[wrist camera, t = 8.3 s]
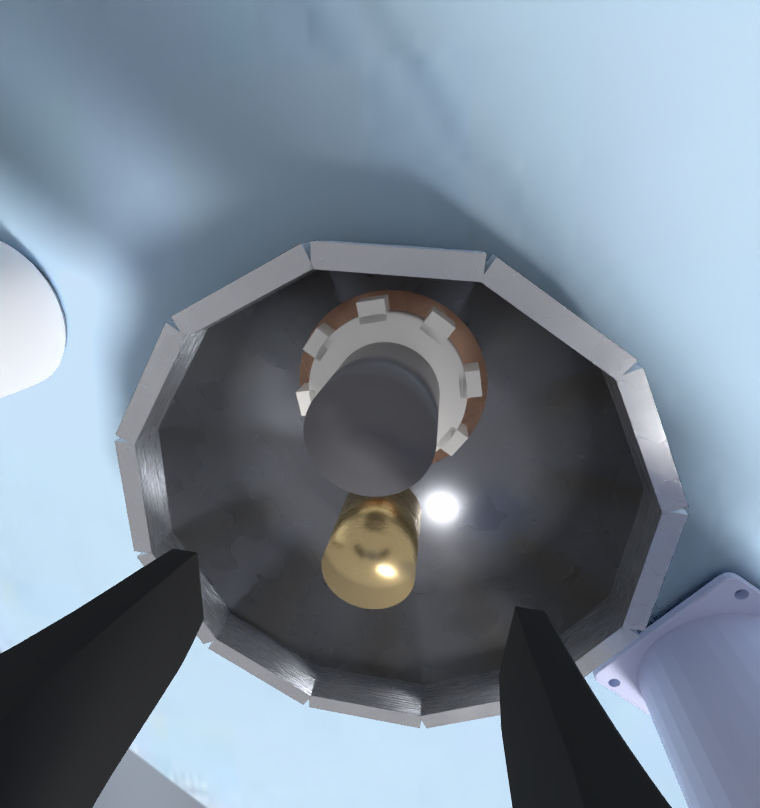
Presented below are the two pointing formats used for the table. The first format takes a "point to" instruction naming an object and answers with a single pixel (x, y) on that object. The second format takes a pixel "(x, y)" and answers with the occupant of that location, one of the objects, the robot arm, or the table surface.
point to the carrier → (410, 509)
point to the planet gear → (384, 397)
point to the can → (27, 324)
